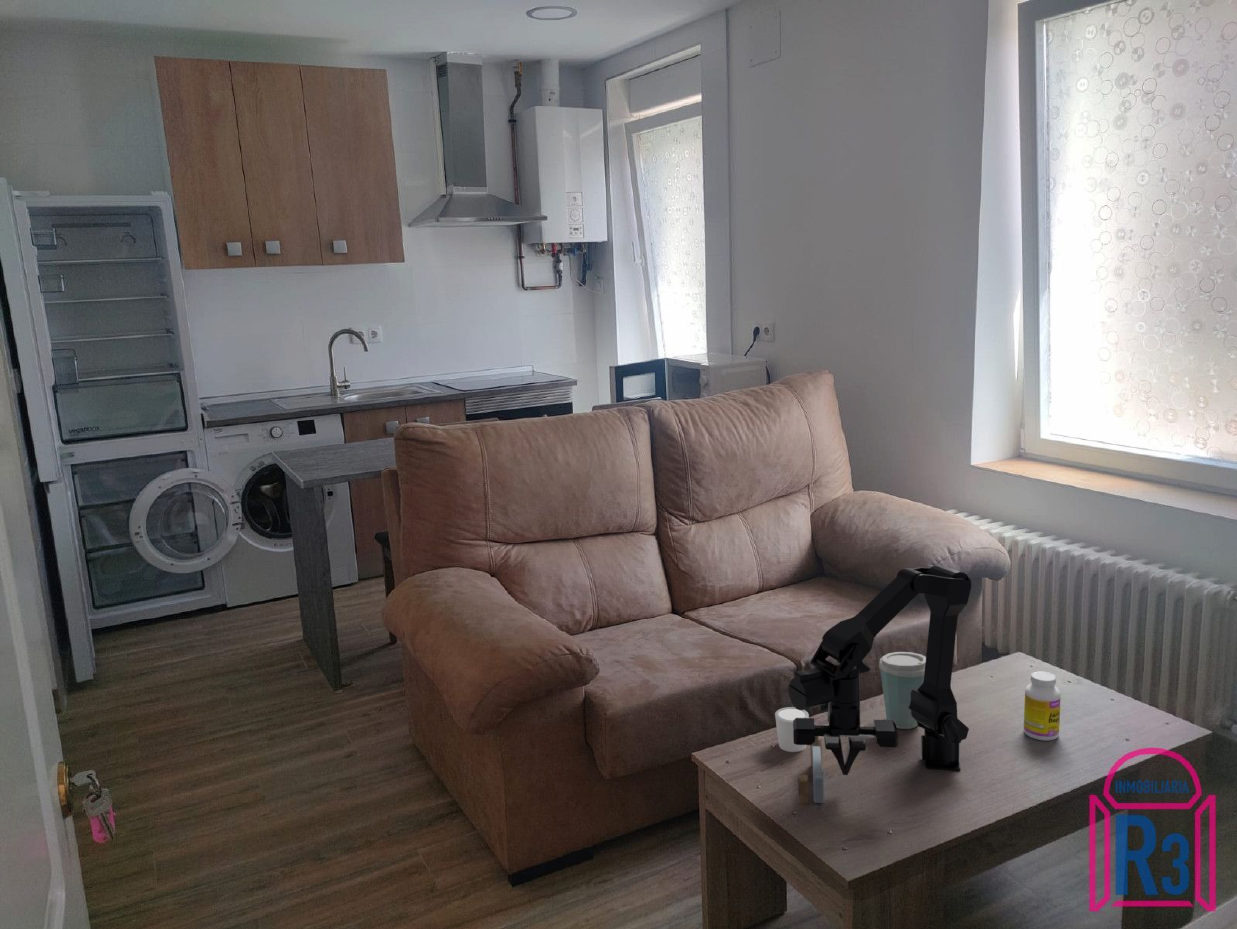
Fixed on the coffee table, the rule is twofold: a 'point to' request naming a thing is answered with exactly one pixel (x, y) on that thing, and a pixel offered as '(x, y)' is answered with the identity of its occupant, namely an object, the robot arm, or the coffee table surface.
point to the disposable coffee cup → (901, 685)
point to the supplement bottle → (1042, 707)
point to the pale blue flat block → (817, 770)
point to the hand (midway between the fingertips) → (845, 774)
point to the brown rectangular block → (803, 789)
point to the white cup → (788, 728)
